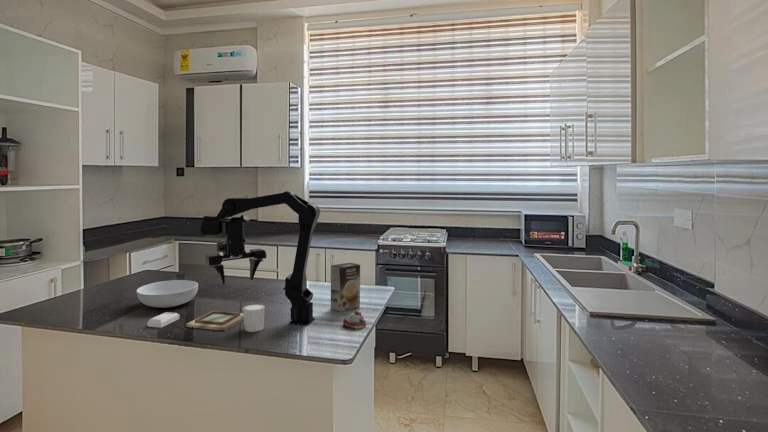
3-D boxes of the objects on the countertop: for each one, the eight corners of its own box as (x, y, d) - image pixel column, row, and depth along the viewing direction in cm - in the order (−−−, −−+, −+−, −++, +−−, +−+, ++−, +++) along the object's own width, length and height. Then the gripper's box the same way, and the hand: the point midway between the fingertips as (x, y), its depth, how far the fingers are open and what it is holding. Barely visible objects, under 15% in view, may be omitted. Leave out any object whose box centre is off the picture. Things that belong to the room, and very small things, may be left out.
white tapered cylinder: (257, 323, 145) (256, 302, 145) (269, 328, 141) (269, 306, 140) (238, 329, 140) (238, 307, 140) (251, 334, 136) (250, 311, 135)
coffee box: (341, 312, 157) (341, 268, 156) (330, 308, 162) (329, 265, 160) (360, 307, 164) (360, 264, 162) (349, 303, 168) (349, 261, 167)
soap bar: (147, 327, 142) (147, 319, 142) (166, 318, 151) (166, 311, 151) (161, 328, 141) (160, 320, 141) (179, 319, 150) (179, 312, 150)
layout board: (248, 316, 152) (248, 311, 152) (224, 330, 139) (224, 325, 138) (212, 313, 156) (212, 308, 155) (186, 326, 142) (185, 321, 142)
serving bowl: (128, 304, 166) (127, 286, 166) (185, 293, 181) (184, 277, 181) (149, 317, 152) (148, 297, 151) (208, 304, 167) (208, 286, 167)
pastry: (367, 329, 141) (367, 314, 140) (344, 331, 139) (344, 315, 139) (363, 321, 149) (363, 306, 148) (341, 322, 147) (341, 308, 147)
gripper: (254, 231, 158) (256, 274, 159) (199, 236, 147) (202, 282, 149) (265, 234, 149) (268, 279, 150) (208, 239, 138) (211, 288, 140)
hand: (237, 282), depth 147 cm, fingers open, 9 cm apart
